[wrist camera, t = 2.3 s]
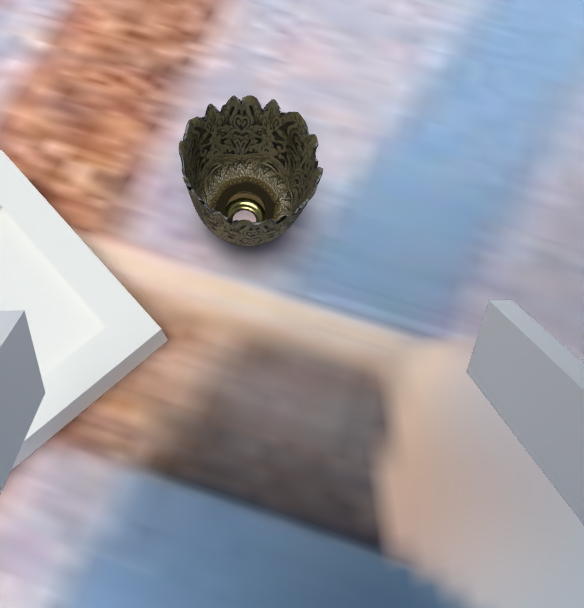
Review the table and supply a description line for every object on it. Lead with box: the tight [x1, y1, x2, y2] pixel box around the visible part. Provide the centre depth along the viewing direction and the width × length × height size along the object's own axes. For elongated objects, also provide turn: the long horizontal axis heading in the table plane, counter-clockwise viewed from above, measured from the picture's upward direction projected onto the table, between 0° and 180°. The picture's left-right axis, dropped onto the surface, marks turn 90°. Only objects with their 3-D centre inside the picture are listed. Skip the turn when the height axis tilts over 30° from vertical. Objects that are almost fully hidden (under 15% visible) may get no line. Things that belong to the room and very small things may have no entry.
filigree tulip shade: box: [179, 95, 323, 246], centre depth 28 cm, size 8×7×8 cm
